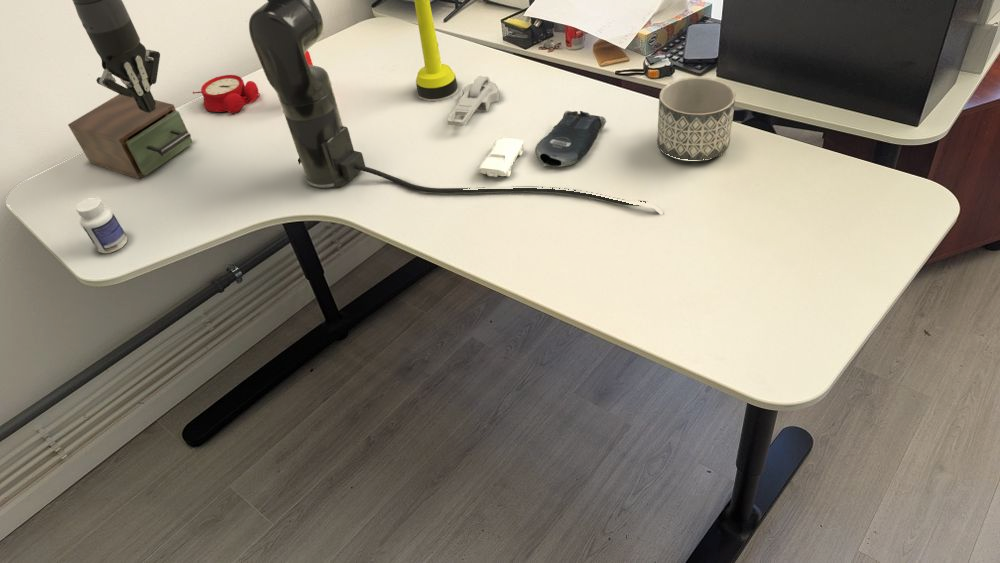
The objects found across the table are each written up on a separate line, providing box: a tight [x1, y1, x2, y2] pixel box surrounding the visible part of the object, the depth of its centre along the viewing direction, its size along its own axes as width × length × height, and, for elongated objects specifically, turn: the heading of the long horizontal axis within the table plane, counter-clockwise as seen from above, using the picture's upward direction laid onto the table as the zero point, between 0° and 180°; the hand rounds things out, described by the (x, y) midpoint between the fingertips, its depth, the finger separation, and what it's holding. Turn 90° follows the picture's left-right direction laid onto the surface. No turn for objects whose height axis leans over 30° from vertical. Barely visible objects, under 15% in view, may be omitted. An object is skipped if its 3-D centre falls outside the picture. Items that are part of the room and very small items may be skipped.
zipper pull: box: [447, 75, 500, 127], centre depth 147 cm, size 8×18×4 cm, turn 161°
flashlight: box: [413, 0, 459, 102], centre depth 148 cm, size 25×9×9 cm
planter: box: [656, 76, 737, 160], centre depth 128 cm, size 13×13×10 cm
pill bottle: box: [75, 197, 128, 254], centre depth 125 cm, size 5×5×9 cm
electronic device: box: [535, 110, 607, 168], centre depth 134 cm, size 9×6×15 cm
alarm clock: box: [192, 74, 261, 114], centre depth 161 cm, size 10×6×15 cm
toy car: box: [478, 137, 525, 178], centre depth 133 cm, size 6×12×3 cm, turn 160°
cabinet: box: [67, 93, 177, 180], centre depth 147 cm, size 16×14×9 cm
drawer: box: [124, 110, 194, 176], centre depth 145 cm, size 19×12×7 cm, turn 60°
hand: (149, 110), depth 137 cm, fingers closed
